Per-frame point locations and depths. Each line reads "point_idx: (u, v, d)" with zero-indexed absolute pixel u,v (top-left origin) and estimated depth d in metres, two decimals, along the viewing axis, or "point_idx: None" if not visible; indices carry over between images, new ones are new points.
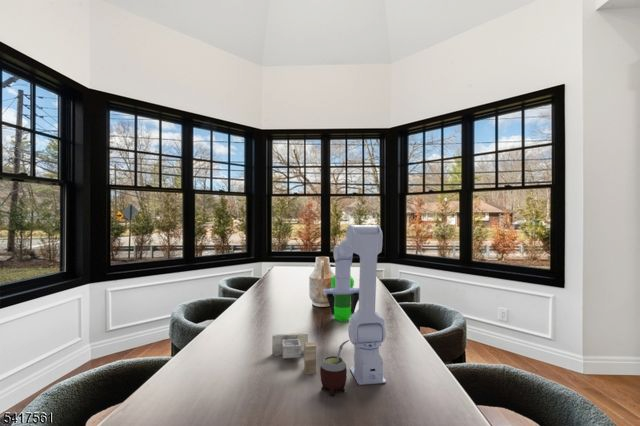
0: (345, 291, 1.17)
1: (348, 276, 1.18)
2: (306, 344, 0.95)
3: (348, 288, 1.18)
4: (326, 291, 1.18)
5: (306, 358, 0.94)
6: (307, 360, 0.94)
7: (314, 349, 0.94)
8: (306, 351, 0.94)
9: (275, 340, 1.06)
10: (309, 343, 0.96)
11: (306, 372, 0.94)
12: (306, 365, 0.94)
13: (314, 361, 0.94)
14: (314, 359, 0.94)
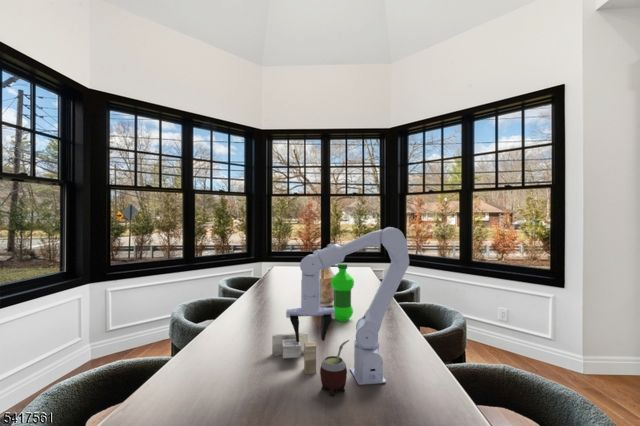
0: (313, 313, 0.93)
1: None
2: (306, 344, 0.95)
3: (317, 309, 0.94)
4: (289, 312, 0.94)
5: (306, 358, 0.94)
6: (307, 360, 0.94)
7: (314, 349, 0.94)
8: (306, 351, 0.94)
9: (275, 340, 1.06)
10: (309, 343, 0.96)
11: (306, 372, 0.94)
12: (306, 365, 0.94)
13: (314, 361, 0.94)
14: (314, 359, 0.94)
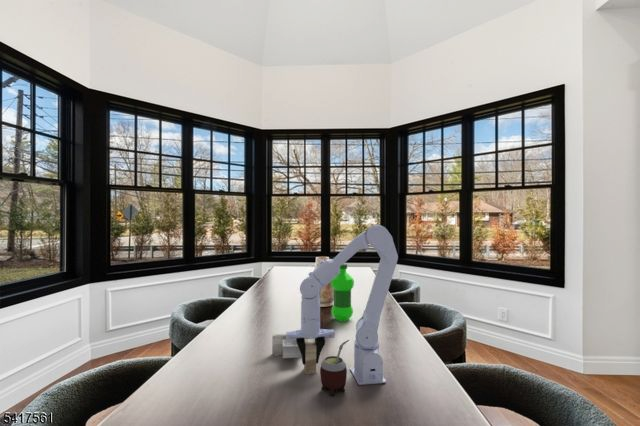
0: (312, 336, 0.93)
1: None
2: (306, 344, 0.95)
3: (316, 331, 0.94)
4: (289, 335, 0.94)
5: (306, 358, 0.94)
6: (307, 360, 0.94)
7: (314, 349, 0.94)
8: (306, 351, 0.94)
9: (275, 340, 1.06)
10: (309, 343, 0.96)
11: (306, 372, 0.94)
12: (306, 365, 0.94)
13: (314, 361, 0.94)
14: (314, 359, 0.94)
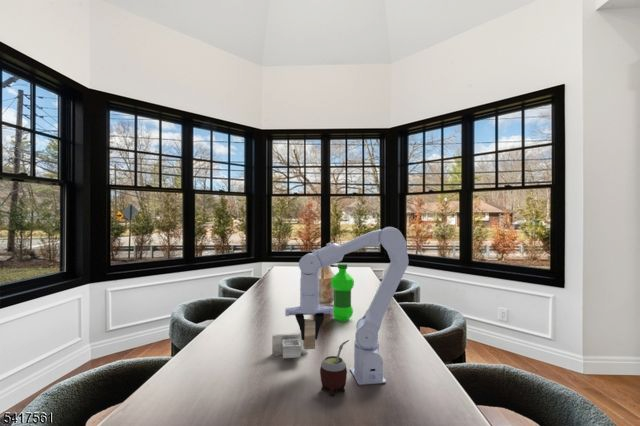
0: (312, 311, 0.93)
1: None
2: (305, 320, 0.96)
3: (316, 307, 0.94)
4: (288, 311, 0.94)
5: (305, 334, 0.94)
6: (307, 336, 0.94)
7: (313, 325, 0.95)
8: (305, 327, 0.94)
9: (275, 340, 1.06)
10: (308, 319, 0.97)
11: (305, 348, 0.94)
12: (305, 341, 0.94)
13: (313, 337, 0.95)
14: (313, 335, 0.95)
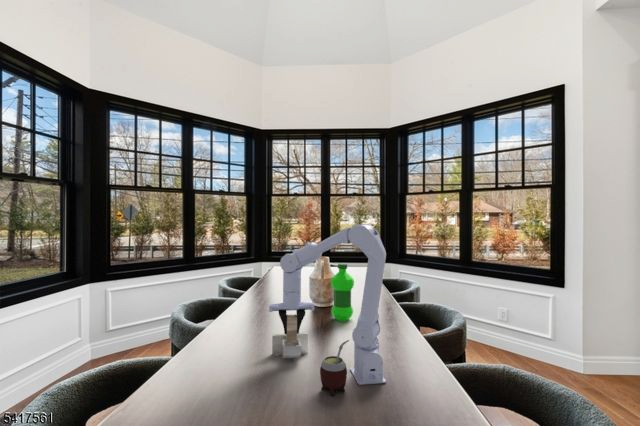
0: (293, 307, 1.00)
1: None
2: (288, 316, 1.02)
3: (297, 303, 1.01)
4: (271, 307, 1.01)
5: (287, 329, 1.01)
6: (289, 330, 1.01)
7: (295, 320, 1.01)
8: (287, 322, 1.01)
9: (275, 340, 1.06)
10: (291, 315, 1.03)
11: (287, 342, 1.01)
12: (287, 335, 1.01)
13: (295, 331, 1.01)
14: (295, 330, 1.01)
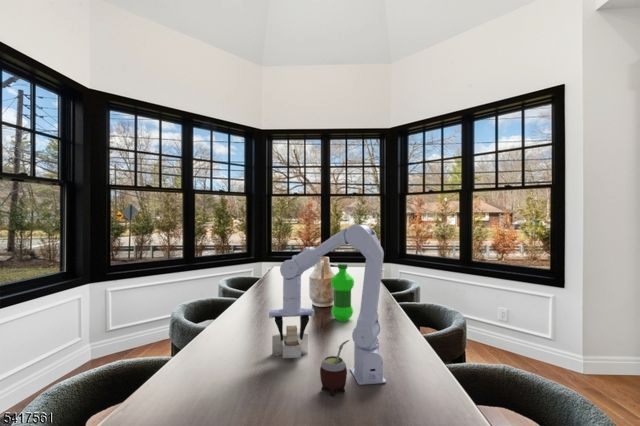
0: (293, 313, 1.00)
1: None
2: (288, 327, 1.02)
3: (297, 310, 1.01)
4: (271, 313, 1.01)
5: (287, 340, 1.01)
6: (289, 342, 1.01)
7: (295, 332, 1.01)
8: (287, 333, 1.01)
9: (275, 340, 1.06)
10: (291, 326, 1.03)
11: None
12: None
13: (295, 343, 1.01)
14: (295, 341, 1.01)
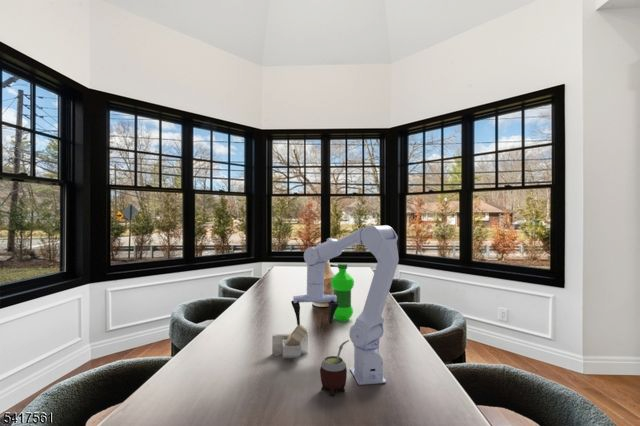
0: (317, 298, 1.04)
1: (323, 281, 1.06)
2: (300, 325, 1.03)
3: (321, 295, 1.05)
4: (296, 298, 1.05)
5: (293, 336, 1.01)
6: (293, 338, 1.01)
7: (304, 333, 1.02)
8: (297, 330, 1.02)
9: (275, 340, 1.06)
10: (302, 327, 1.04)
11: None
12: (289, 341, 1.01)
13: (297, 343, 1.01)
14: (298, 341, 1.01)
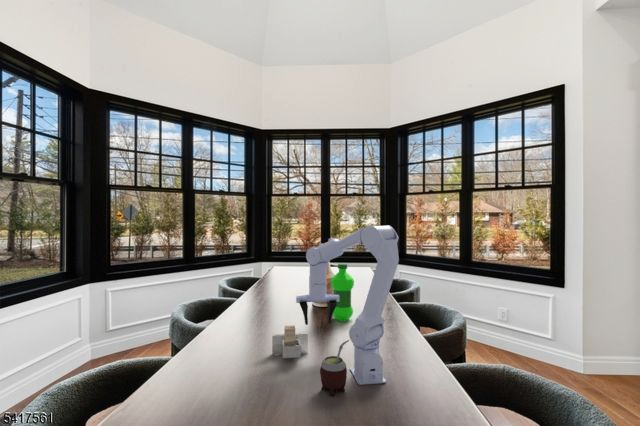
0: (320, 298, 1.04)
1: None
2: (286, 327, 1.02)
3: (323, 295, 1.05)
4: (299, 298, 1.05)
5: (286, 340, 1.01)
6: (287, 342, 1.01)
7: (293, 332, 1.01)
8: (286, 333, 1.01)
9: (275, 340, 1.06)
10: (289, 326, 1.03)
11: None
12: None
13: (293, 343, 1.01)
14: (293, 341, 1.01)
